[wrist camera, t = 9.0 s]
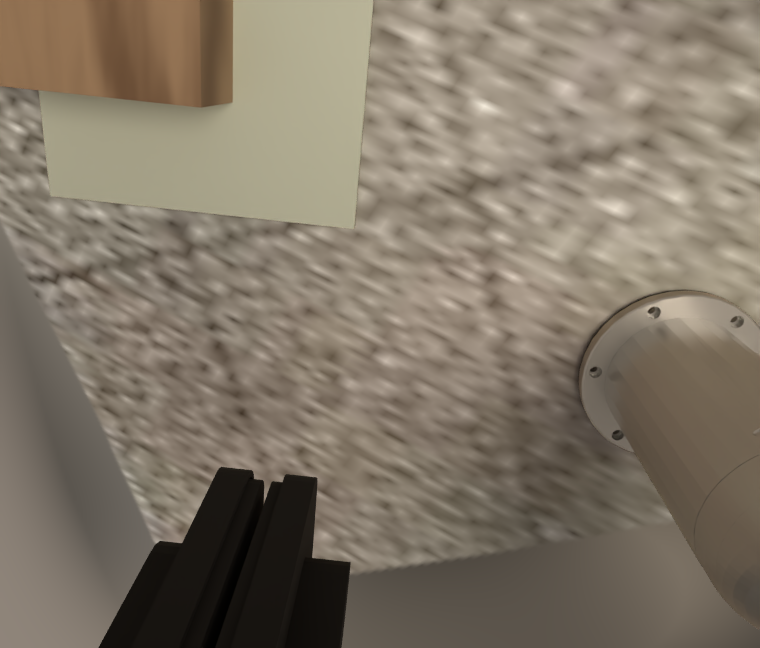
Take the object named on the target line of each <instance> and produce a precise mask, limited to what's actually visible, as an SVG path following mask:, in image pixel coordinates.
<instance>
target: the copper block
mask: <svg viewBox="0 0 760 648" xmlns="http://www.w3.org/2000/svg"><path fill="white" fill-rule="evenodd" d="M0 86H5V87H14V88H23V89H32V90H42V91H51V92H60V93H70V94H79V95H88V96H97V97H107V98H116V99H125V100H134V101H144V102H153V103H162V104H172V105H181V106H190V107H199V108H202V107H208V106H215V105H221V104H227V103H233V0H0Z"/></svg>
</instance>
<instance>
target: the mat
mask: <svg viewBox="0 0 760 648" xmlns="http://www.w3.org/2000/svg"><path fill="white" fill-rule="evenodd" d="M373 5H374V0H233V103H227V104H221V105H215V106H208V107H202V108H199V107H190V106H181V105H172V104H162V103H153V102H144V101H134V100H125V99H116V98H107V97H97V96H88V95H79V94H70V93H60V92H51V91H42V90H39V98H40V107H41V116H42V125H43V134H44V143H45V152H46V161H47V170H48V179H49V188H50V196H54V197H63V198H72V199H81V200H90V201H99V202H109V203H118V204H127V205H136V206H145V207H155V208H164V209H173V210H182V211H191V212H201V213H210V214H219V215H228V216H237V217H246V218H256V219H265V220H274V221H283V222H292V223H302V224H311V225H320V226H329V227H338V228H348V229H354V228H355V219H356V207H357V195H358V183H359V171H360V159H361V148H362V136H363V124H364V112H365V100H366V88H367V76H368V64H369V53H370V41H371V29H372V17H373Z"/></svg>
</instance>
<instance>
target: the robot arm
mask: <svg viewBox="0 0 760 648" xmlns="http://www.w3.org/2000/svg"><path fill="white" fill-rule="evenodd" d="M651 307H653V308H652V310H650V311H648V310H649V309H650V308H651ZM732 318H733V319H732ZM593 367H595V368H594V369H591V368H593ZM578 385H579V392H580V399H581V402H582V404H583V407H584V410H585V412H586V414H587V416H588V417H589V419H590V421H591V423H592V424H593V426H594V427H595V428H596V429H597V430H598V432H599V433H600V434H601V435H602V436H603V437H604V438H606V439H607V440H608V441H609V442H611V443H612V444H614V445H616V446H618V447H620V448H622V449H624V450H626V451H629V452H633V453H635V454H636V456H637V457H638V459H639V461H640V462H641V464H642V466H643V468H644V469H645V471H646V473H647V474H648V476H649V478H650V479H651V481H652V483H653V485H654V486H655V488H656V490H657V491H658V493H659V495H660V496H661V498H662V500H663V502H664V503H665V505H666V507H667V508H668V510H669V512H670V513H671V515H672V517H673V519H674V520H675V522H676V524H677V525H678V527H679V529H680V530H681V532H682V534H683V535H684V537H685V539H686V541H687V542H688V544H689V546H690V547H691V549H692V551H693V552H694V554H695V556H696V558H697V559H698V561H699V562H700V564H701V566H702V567H703V568H704V570H705V572H706V573H707V575H708V577H709V579H710V580H711V582H712V584H713V585H714V587H715V588H716V590H717V591H718V592H719V594H720V595H721V597H722V598H723V599H724V600H725V601H726V602H727V603H728V604H729V606H730V607H731V608H732V609H733V610H734V611H735V612H736V613H737V614H739V615H740V616H741V617H742V618H744V619H745V620H746V621H748V622H749V623H750V624H751V625H753V626H754V627H756V628H757V629H759V630H760V327H759V326H758V325H757V324H756V322H755V321H754V320H753V319H752V318H751V317H750V316H749V315H748V314H747V313H746V312H744V311H743V310H742V309H740V308H739V307H738V306H736V305H735V304H733V303H731V302H729V301H727V300H726V299H724V298H722V297H719V296H716V295H712V294H709V293H706V292H697V291H688V290H686V291H672V292H666V293H661V294H657V295H653V296H650V297H647V298H645V299H642V300H640V301H638V302H635V303H633V304H631V305H630V306H628V307H627V308H625V309H623V310H622V311H620V312H619V313H617V314H616V315H615V316H614V317H612V318H611V319H610V320H609V321H608V322H607V323H606V324H605V325H603V327H602V328H601V329H600V330H599V332H598V333H597V334H596V335H595V337H594V338H593V339H592V341H591V343H590V345H589V346H588V348H587V350H586V352H585V354H584V357H583V360H582V364H581V367H580V372H579V383H578ZM316 495H317V478H316V477H307V476H298V475H289V474H286V475H285V477H284V480H283V482H274V481H273V482H272V483H271V485H270V488H269V491H268V494H267V497H266V500H265V503H264V481H263V480H256V479H254V474H253V471H252V470H244V469H235V468H226V467H220V468H219V470H218V471H217V473H216V475H215V477H214V479H213V481H212V483H211V485H210V487H209V489H208V491H207V493H206V496H205V498H204V500H203V502H202V504H201V506H200V508H199V510H198V512H197V514H196V516H195V518H194V520H193V522H192V524H191V526H190V528H189V530H188V533H187V535H186V537H185V539H184V541H183V543H173V542H164V541H159V542H158V543H157V544H156V545H155V546H154V548H153V549H152V551H151V553H150V554H149V556H148V558H147V560H146V561H145V563H144V565H143V567H142V569H141V571H140V572H139V574H138V576H137V578H136V580H135V582H134V584H133V585H132V587H131V589H130V591H129V593H128V594H127V596H126V598H125V600H124V602H123V604H122V605H121V607H120V609H119V611H118V613H117V615H116V617H115V618H114V620H113V622H112V624H111V626H110V627H109V629H108V631H107V633H106V635H105V637H104V639H103V640H102V642H101V644H100V646H99V648H341V645H342V637H343V628H344V620H345V611H346V602H347V592H348V583H349V574H350V563H351V562H343V561H334V560H325V559H316V558H312V551H313V537H314V523H315V509H316ZM263 505H264V506H263Z"/></svg>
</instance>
